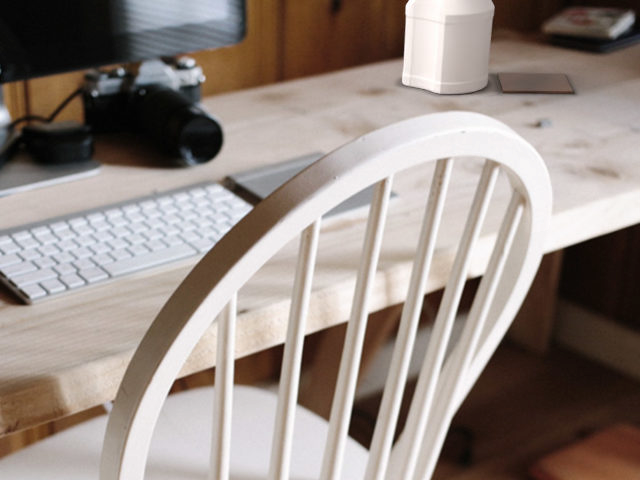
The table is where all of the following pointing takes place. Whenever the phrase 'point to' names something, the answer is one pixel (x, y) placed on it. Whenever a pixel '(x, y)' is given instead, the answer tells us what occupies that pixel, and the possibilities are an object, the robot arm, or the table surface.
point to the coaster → (534, 83)
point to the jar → (447, 45)
